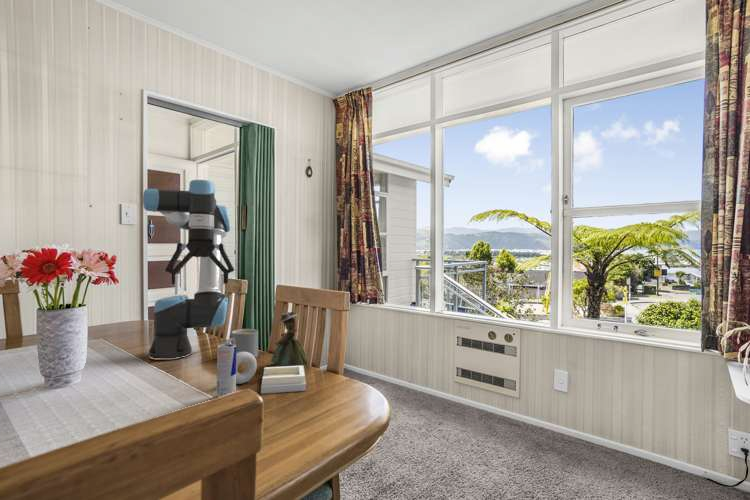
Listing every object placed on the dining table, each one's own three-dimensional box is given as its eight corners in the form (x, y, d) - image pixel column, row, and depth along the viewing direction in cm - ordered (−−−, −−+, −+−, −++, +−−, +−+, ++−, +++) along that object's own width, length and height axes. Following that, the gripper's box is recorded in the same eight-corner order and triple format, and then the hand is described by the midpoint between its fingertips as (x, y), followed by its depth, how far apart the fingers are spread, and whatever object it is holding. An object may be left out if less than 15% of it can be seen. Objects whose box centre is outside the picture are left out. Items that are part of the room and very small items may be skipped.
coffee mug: (252, 352, 159) (252, 327, 159) (261, 357, 151) (261, 332, 152) (218, 357, 151) (219, 331, 151) (226, 363, 143) (227, 336, 143)
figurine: (286, 358, 150) (287, 307, 150) (317, 363, 144) (318, 310, 144) (261, 368, 137) (262, 312, 137) (293, 374, 131) (294, 316, 131)
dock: (264, 376, 129) (264, 364, 129) (303, 374, 132) (303, 362, 132) (260, 393, 114) (261, 380, 114) (305, 390, 117) (305, 377, 117)
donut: (253, 378, 127) (254, 348, 127) (258, 381, 124) (259, 350, 124) (223, 385, 120) (224, 353, 120) (228, 388, 117) (228, 355, 117)
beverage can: (239, 395, 112) (240, 343, 112) (227, 401, 107) (228, 347, 107) (225, 392, 114) (225, 342, 114) (212, 399, 109) (213, 346, 109)
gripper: (155, 226, 118) (153, 295, 118) (240, 228, 124) (239, 294, 123) (163, 228, 126) (161, 293, 125) (243, 230, 131) (242, 292, 131)
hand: (200, 294), depth 124 cm, fingers open, 13 cm apart
